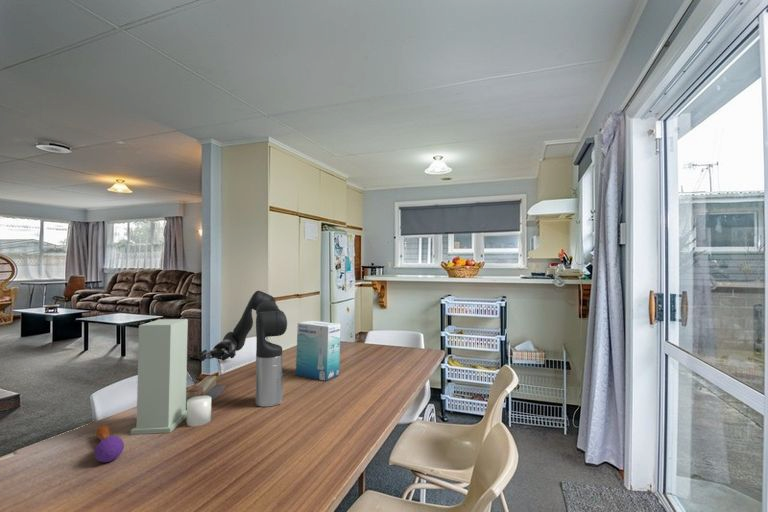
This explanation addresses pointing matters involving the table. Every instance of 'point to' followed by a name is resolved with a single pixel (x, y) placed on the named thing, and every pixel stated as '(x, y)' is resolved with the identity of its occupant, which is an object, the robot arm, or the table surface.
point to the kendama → (107, 445)
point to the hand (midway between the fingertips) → (212, 358)
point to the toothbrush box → (318, 350)
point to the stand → (161, 376)
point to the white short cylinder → (198, 410)
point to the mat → (213, 392)
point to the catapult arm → (201, 387)
